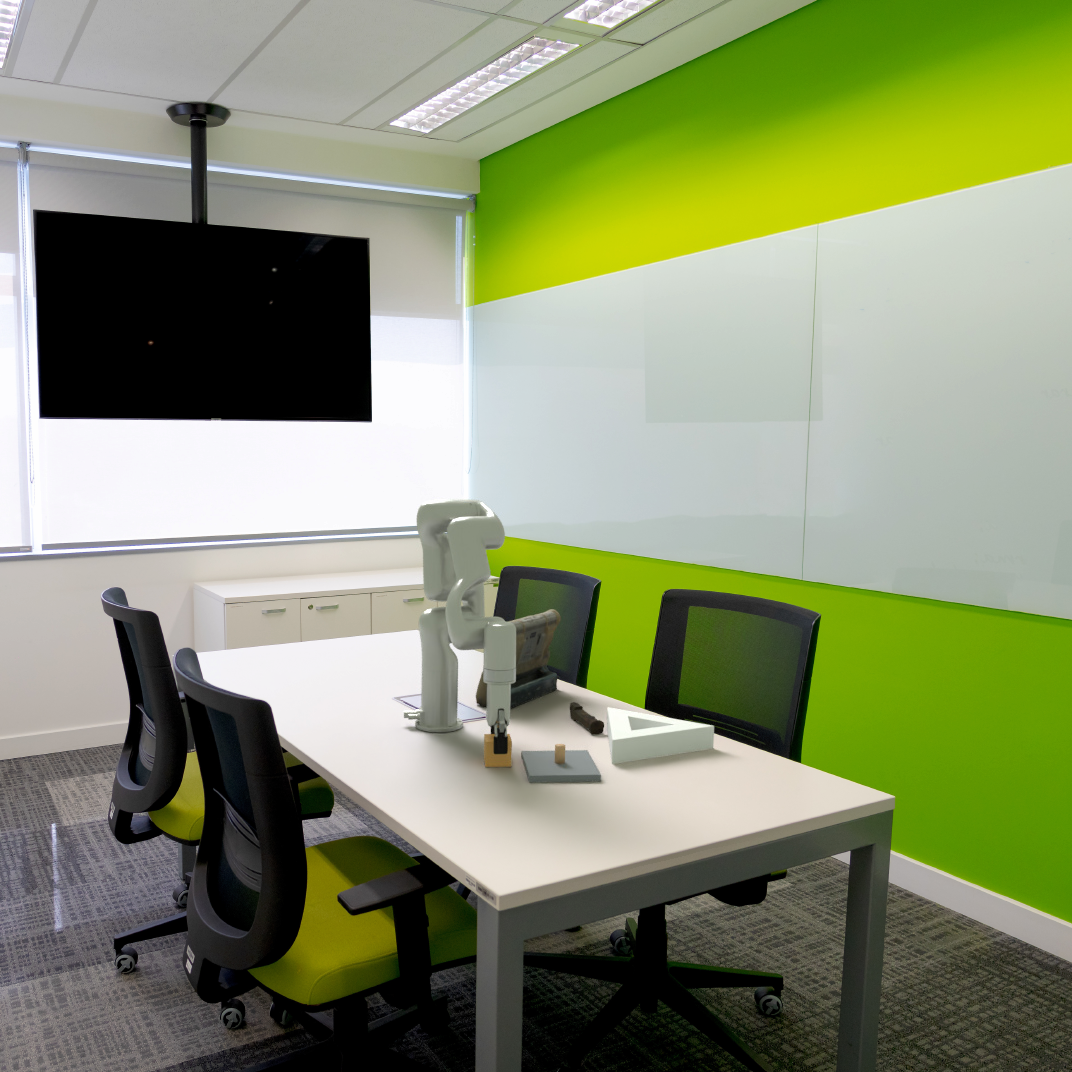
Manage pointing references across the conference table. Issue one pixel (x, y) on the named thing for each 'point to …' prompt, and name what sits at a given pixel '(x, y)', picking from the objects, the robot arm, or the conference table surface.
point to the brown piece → (586, 719)
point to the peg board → (560, 765)
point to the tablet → (530, 659)
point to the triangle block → (653, 736)
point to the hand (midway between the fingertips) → (498, 747)
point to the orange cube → (496, 759)
